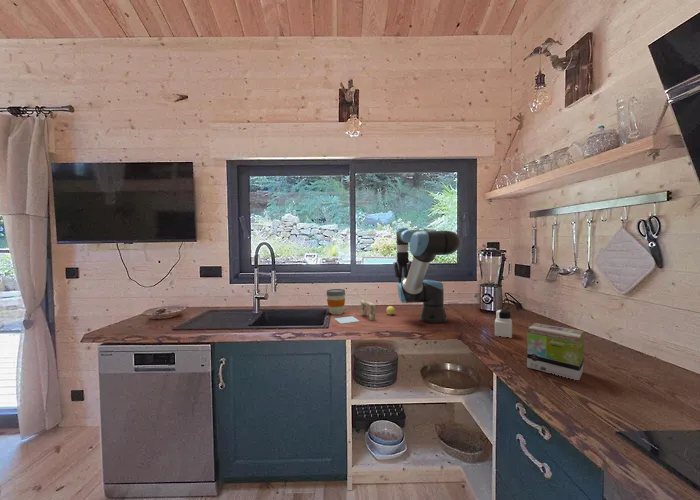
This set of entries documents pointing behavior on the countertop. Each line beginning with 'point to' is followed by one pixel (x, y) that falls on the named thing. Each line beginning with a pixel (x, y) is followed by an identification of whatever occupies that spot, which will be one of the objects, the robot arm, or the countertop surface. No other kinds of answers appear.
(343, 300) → the reusable coffee cup
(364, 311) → the bridge
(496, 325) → the medicine bottle
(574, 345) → the tea box
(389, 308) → the ball
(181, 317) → the countertop surface
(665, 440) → the countertop surface
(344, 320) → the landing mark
